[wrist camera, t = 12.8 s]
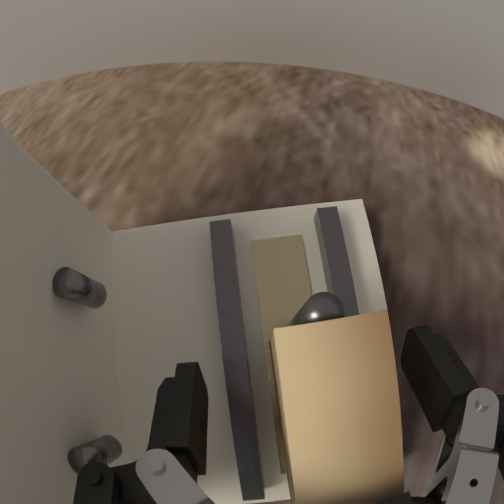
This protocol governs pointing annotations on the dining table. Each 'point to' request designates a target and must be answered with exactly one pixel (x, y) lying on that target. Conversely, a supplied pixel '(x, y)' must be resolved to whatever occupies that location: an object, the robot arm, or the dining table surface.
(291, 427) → the wooden block
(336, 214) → the l-shaped angle bracket
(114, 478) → the robot arm
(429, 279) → the dining table surface
